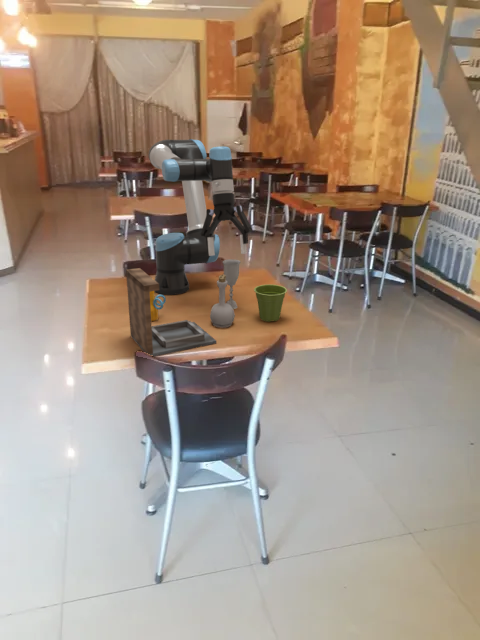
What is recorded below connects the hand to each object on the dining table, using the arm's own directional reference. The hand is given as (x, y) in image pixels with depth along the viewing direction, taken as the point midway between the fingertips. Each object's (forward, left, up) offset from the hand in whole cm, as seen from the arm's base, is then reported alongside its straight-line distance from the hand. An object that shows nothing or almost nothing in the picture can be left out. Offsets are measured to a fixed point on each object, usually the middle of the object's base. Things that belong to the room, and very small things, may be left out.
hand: (227, 254), depth 178 cm
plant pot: (+10, +12, -23) cm, 28 cm away
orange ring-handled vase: (-9, -27, -23) cm, 37 cm away
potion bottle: (+7, -6, -23) cm, 25 cm away
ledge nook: (+12, -26, -23) cm, 37 cm away
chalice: (-7, +5, -23) cm, 25 cm away
